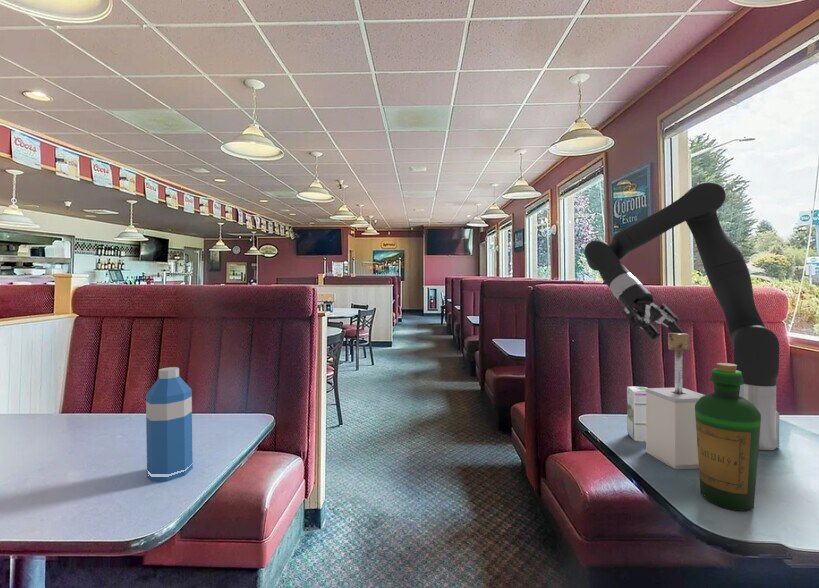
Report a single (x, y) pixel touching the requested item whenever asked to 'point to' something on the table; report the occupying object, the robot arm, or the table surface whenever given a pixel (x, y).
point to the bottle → (727, 441)
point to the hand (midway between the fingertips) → (669, 336)
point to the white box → (672, 427)
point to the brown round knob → (678, 355)
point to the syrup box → (636, 413)
